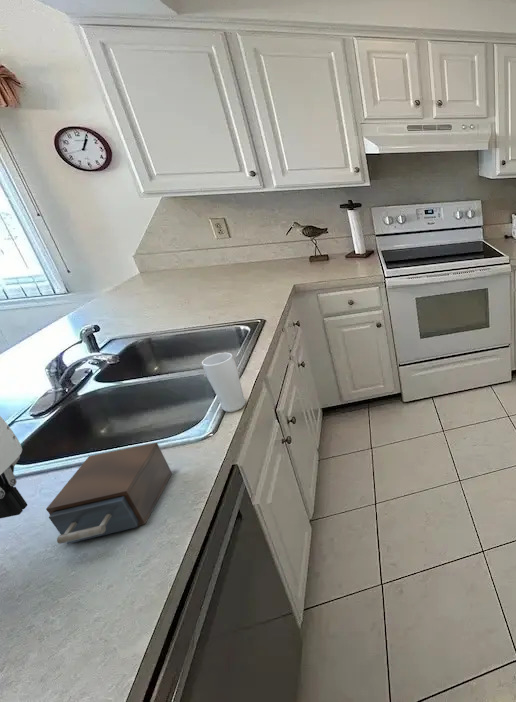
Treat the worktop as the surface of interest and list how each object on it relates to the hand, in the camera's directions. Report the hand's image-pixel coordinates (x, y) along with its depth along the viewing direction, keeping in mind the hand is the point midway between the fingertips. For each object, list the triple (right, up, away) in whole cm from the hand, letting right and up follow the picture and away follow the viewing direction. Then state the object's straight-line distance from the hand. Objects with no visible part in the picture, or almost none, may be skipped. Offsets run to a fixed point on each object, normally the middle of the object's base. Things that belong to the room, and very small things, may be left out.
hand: (11, 512), depth 62 cm
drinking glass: (+2, +6, +49) cm, 50 cm away
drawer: (0, -8, +16) cm, 18 cm away
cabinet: (-1, -8, +20) cm, 21 cm away
